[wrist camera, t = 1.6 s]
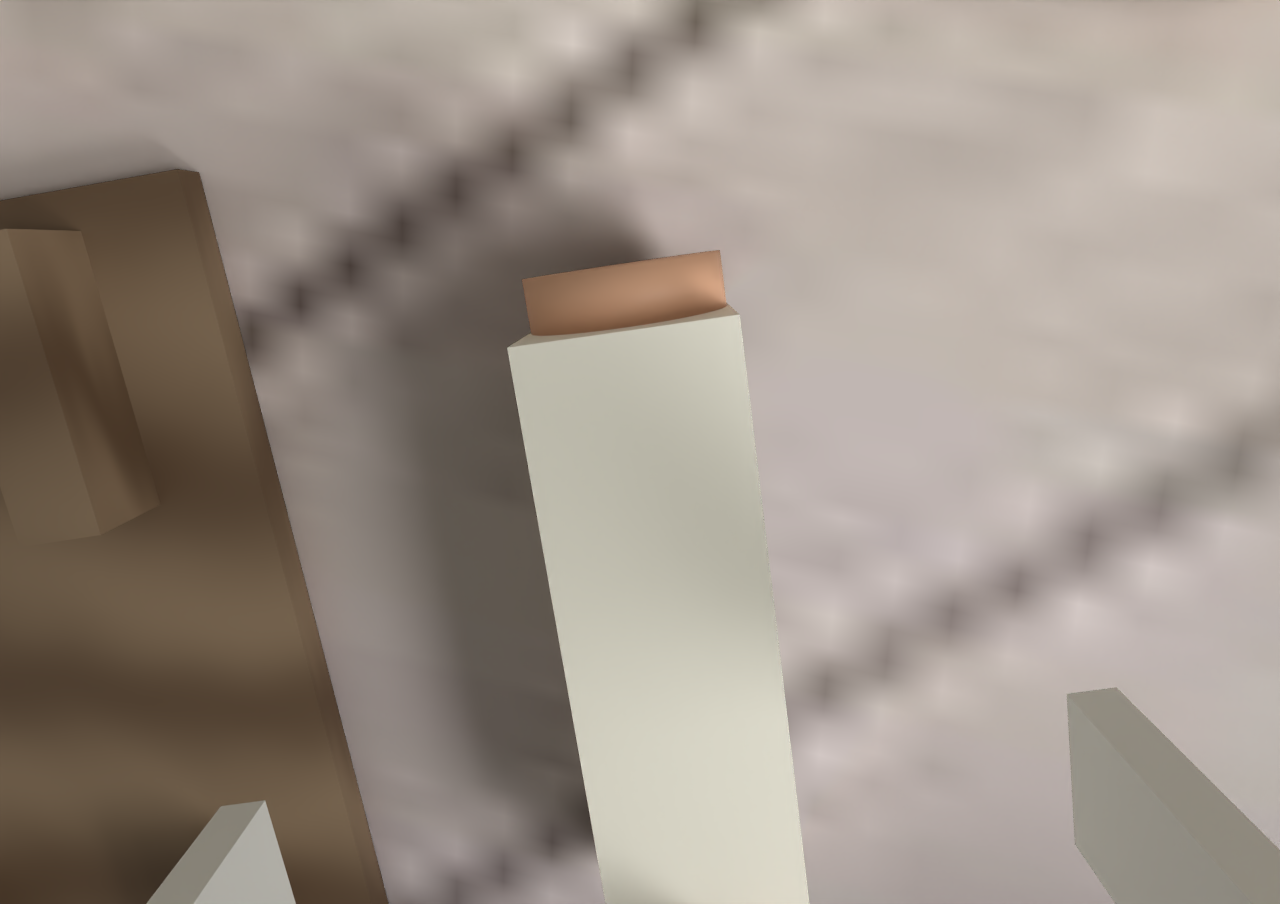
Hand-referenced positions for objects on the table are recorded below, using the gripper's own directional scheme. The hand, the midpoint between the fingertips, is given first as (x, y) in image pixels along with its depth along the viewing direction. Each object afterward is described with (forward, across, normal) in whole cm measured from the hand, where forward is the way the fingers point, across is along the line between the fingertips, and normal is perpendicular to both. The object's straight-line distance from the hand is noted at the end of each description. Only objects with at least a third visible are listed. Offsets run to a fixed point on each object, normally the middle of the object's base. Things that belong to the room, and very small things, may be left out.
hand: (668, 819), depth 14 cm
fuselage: (+10, 0, +1) cm, 10 cm away
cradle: (+10, +18, 0) cm, 21 cm away
